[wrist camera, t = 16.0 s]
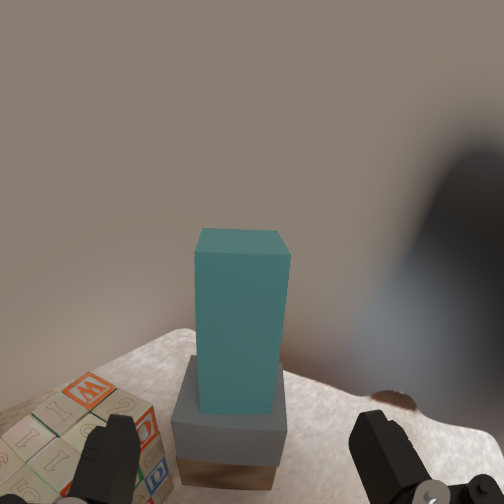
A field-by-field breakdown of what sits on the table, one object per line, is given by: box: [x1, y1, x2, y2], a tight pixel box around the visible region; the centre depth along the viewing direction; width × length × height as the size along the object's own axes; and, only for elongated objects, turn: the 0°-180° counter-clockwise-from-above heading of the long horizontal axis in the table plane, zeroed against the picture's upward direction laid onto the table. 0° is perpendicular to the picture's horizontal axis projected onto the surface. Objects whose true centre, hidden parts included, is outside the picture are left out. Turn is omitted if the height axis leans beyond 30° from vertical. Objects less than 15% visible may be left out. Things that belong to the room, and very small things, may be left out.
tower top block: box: [171, 355, 287, 467], centre depth 23 cm, size 8×8×5 cm
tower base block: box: [176, 456, 277, 490], centre depth 25 cm, size 8×8×5 cm
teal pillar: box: [195, 228, 291, 414], centre depth 20 cm, size 5×5×12 cm
